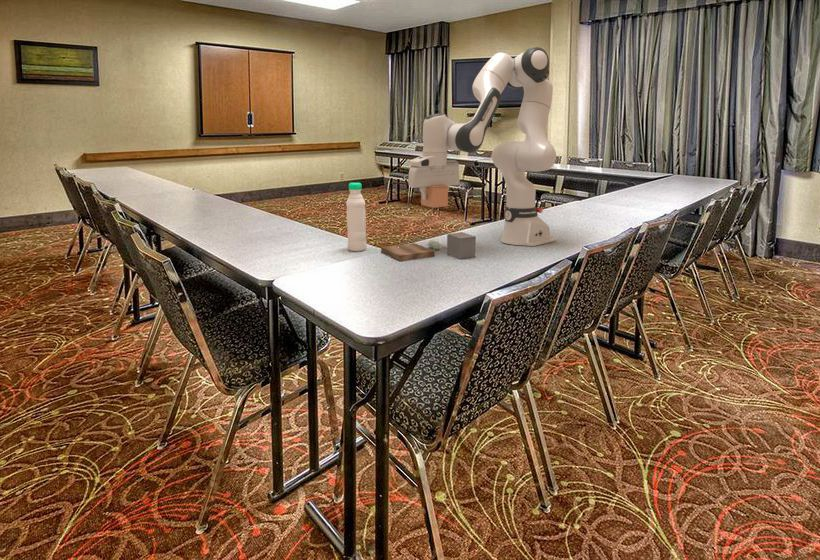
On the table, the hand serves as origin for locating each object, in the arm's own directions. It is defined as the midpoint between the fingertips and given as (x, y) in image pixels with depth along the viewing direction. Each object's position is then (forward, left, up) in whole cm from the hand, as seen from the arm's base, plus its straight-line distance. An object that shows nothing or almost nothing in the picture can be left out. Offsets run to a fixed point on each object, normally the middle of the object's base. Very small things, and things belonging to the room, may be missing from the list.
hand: (434, 198), depth 192 cm
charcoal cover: (-3, +14, -19) cm, 24 cm away
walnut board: (+13, +3, -19) cm, 23 cm away
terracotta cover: (0, 0, -2) cm, 3 cm away
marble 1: (0, -2, -19) cm, 19 cm away
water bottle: (+26, -13, -19) cm, 35 cm away
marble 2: (0, +2, -19) cm, 19 cm away
